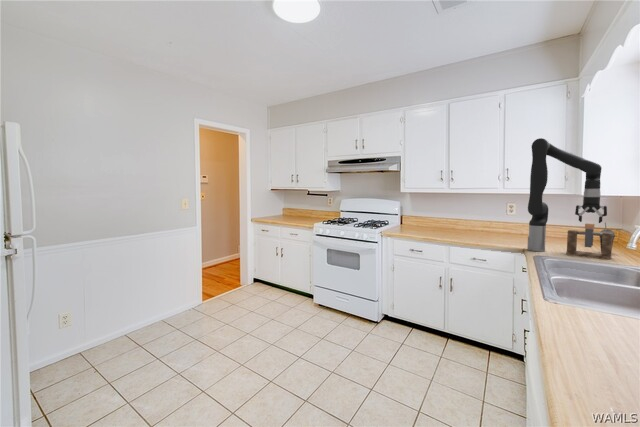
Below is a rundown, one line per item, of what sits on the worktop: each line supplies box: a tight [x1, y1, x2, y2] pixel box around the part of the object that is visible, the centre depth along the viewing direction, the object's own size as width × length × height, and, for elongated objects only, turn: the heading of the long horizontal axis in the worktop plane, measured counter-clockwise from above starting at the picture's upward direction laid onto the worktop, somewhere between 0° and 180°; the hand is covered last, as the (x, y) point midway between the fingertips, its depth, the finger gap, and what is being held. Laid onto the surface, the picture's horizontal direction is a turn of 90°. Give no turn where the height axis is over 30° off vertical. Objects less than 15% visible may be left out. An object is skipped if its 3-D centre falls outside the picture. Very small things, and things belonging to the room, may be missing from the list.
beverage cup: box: [599, 221, 616, 253], centre depth 186 cm, size 7×7×20 cm
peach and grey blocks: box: [584, 222, 596, 248], centre depth 179 cm, size 4×9×14 cm, turn 132°
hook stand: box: [565, 229, 613, 260], centre depth 180 cm, size 20×10×15 cm, turn 42°
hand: (590, 222), depth 179 cm, fingers open, 8 cm apart
